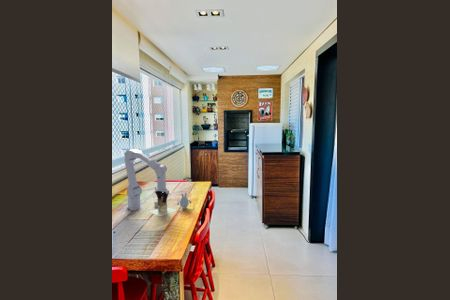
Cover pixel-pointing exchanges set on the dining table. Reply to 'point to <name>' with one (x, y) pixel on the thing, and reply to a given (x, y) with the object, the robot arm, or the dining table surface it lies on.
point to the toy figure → (184, 202)
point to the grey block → (156, 204)
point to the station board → (169, 210)
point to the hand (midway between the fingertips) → (162, 201)
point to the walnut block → (161, 202)
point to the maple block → (162, 208)
